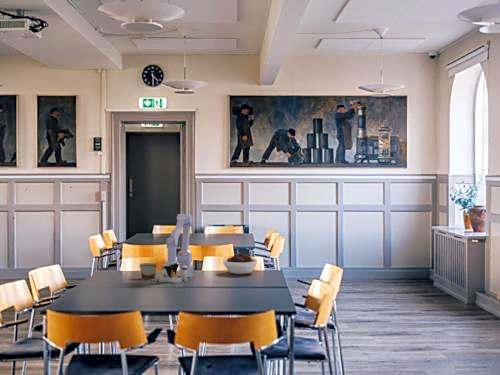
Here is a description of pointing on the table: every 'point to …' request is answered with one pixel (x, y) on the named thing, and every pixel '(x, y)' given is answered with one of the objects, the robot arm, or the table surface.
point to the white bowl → (240, 264)
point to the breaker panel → (171, 279)
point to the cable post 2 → (184, 273)
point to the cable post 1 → (164, 270)
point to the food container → (148, 270)
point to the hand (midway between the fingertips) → (171, 275)
